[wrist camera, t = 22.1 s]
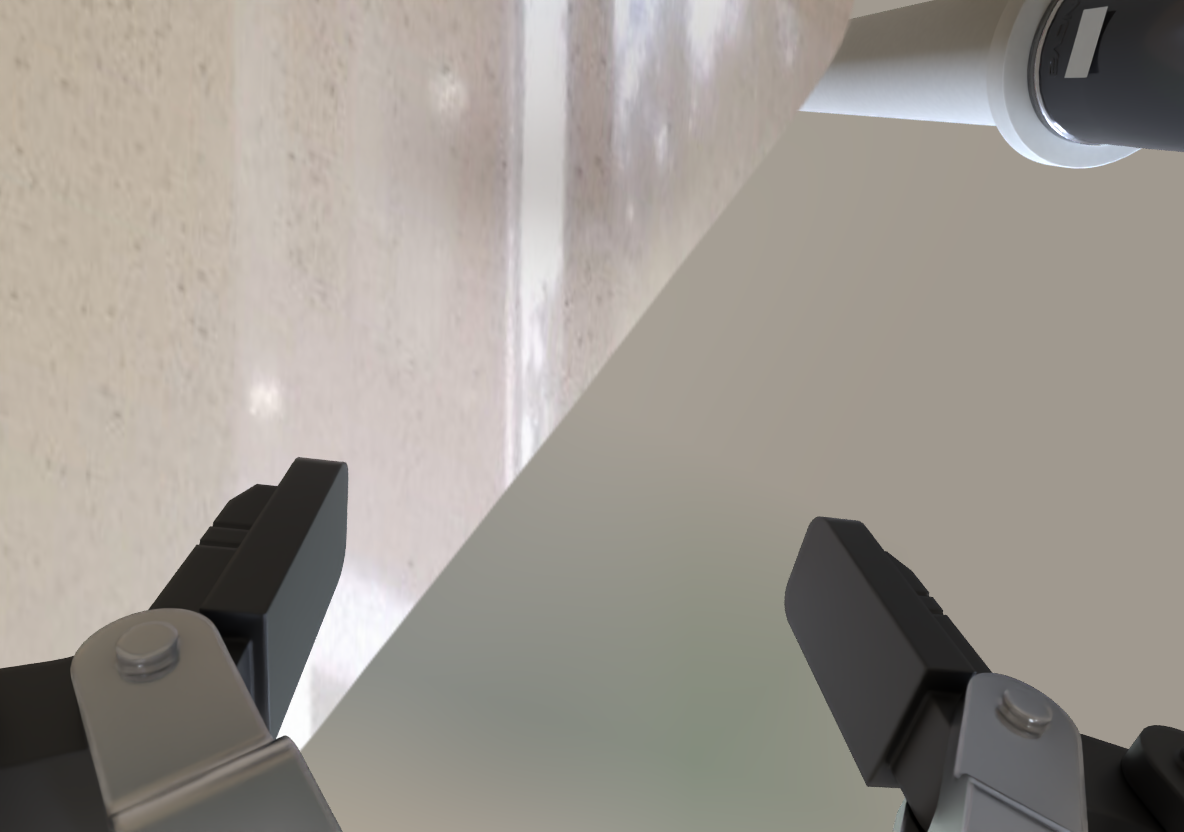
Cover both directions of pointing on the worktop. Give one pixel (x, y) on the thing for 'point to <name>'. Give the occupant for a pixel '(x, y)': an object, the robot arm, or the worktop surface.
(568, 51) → the worktop surface
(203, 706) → the robot arm
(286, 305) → the worktop surface
